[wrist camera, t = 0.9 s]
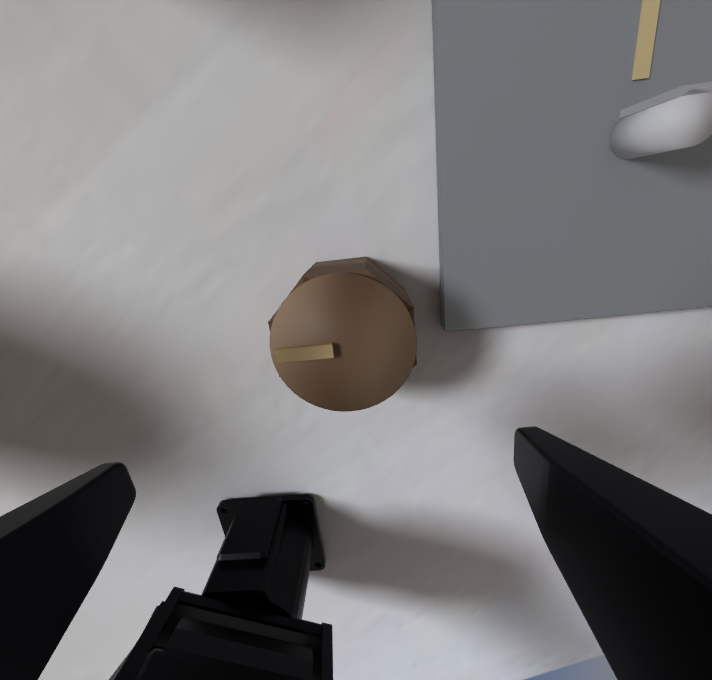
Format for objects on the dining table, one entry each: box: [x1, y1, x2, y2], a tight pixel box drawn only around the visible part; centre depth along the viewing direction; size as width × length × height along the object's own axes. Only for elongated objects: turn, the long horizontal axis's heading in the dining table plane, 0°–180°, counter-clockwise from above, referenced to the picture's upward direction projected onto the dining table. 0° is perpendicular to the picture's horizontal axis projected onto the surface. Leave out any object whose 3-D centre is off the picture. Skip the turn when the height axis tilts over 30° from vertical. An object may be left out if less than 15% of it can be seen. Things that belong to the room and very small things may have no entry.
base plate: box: [432, 0, 712, 332], centre depth 14 cm, size 16×16×4 cm
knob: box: [268, 257, 417, 411], centre depth 17 cm, size 6×6×5 cm
